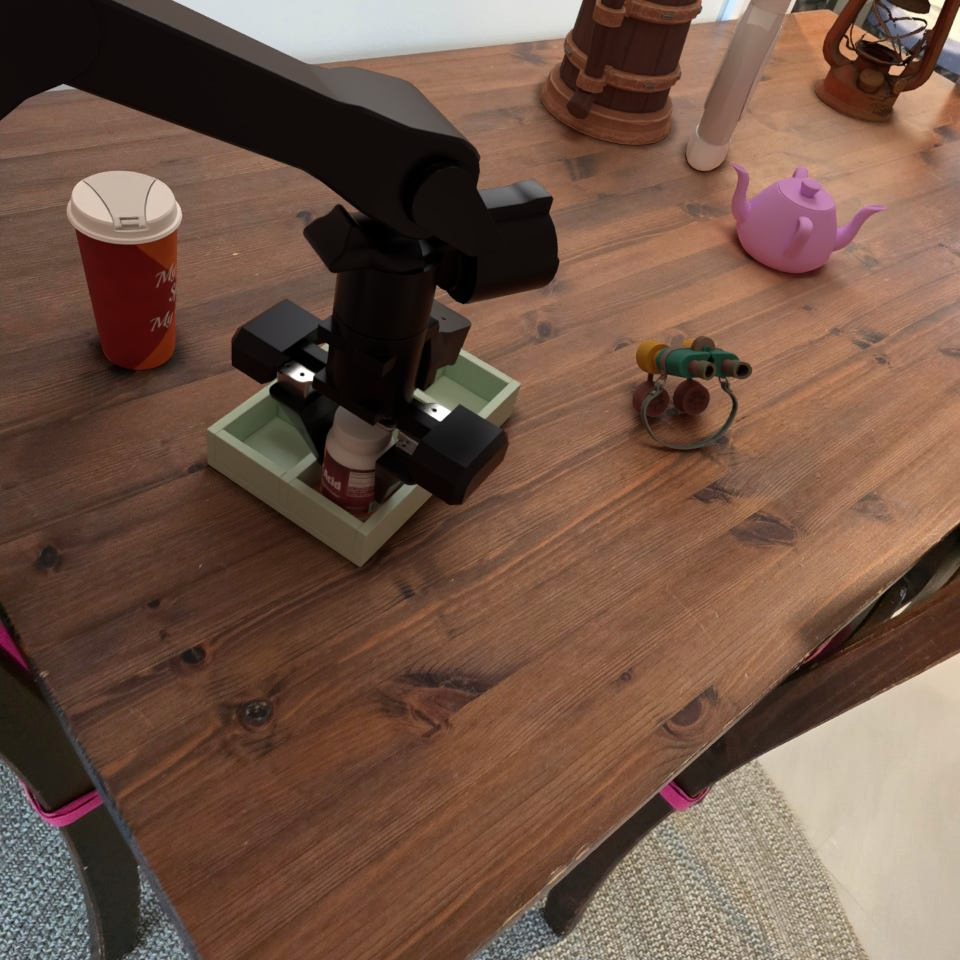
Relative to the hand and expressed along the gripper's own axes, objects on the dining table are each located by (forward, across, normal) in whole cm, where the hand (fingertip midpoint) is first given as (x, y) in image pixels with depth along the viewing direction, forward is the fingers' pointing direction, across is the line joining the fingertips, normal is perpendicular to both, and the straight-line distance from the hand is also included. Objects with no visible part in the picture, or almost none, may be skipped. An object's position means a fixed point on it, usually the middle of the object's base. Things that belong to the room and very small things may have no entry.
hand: (354, 481), depth 64 cm
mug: (+3, +17, -76) cm, 78 cm away
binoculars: (+3, -15, -28) cm, 32 cm away
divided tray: (+3, +3, -7) cm, 8 cm away
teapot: (+3, -13, -65) cm, 66 cm away
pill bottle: (+2, 0, 0) cm, 2 cm away
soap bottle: (+3, +1, -79) cm, 79 cm away
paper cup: (+4, +23, -2) cm, 24 cm away
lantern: (+3, -8, -119) cm, 119 cm away
